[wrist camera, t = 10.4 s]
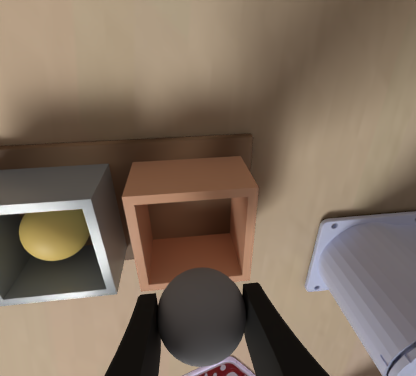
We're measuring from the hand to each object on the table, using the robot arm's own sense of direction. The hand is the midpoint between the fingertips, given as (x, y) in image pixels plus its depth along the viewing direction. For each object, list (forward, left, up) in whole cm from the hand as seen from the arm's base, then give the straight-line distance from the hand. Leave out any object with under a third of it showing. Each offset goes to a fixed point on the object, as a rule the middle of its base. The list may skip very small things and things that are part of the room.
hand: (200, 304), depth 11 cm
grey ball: (0, 0, -1) cm, 1 cm away
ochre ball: (+8, 0, -8) cm, 11 cm away
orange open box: (0, 0, -8) cm, 8 cm away
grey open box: (+8, 0, -8) cm, 11 cm away
